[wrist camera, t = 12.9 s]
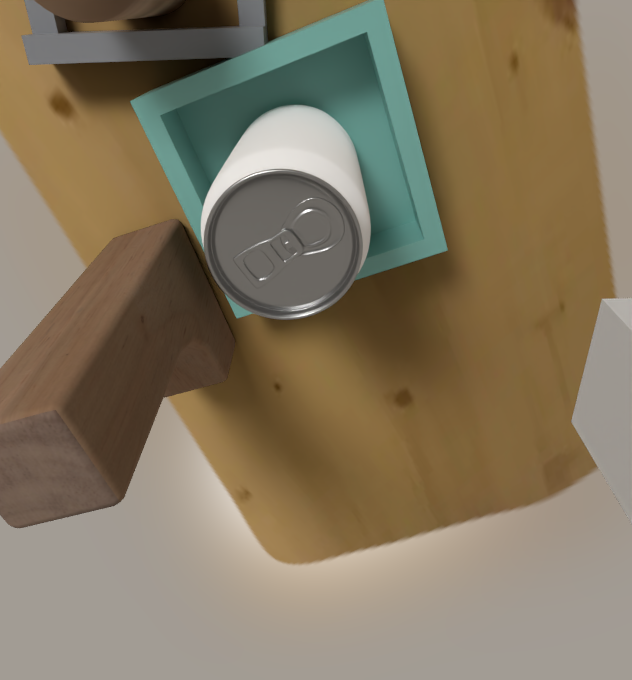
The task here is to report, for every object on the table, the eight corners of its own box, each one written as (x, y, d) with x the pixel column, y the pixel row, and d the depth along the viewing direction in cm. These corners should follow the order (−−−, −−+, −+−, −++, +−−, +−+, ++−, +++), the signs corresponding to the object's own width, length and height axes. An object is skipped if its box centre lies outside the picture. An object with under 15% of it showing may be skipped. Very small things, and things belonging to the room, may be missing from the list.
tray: (150, 90, 29) (129, 101, 26) (374, -3, 27) (382, -3, 24) (244, 288, 35) (236, 318, 32) (434, 225, 33) (447, 250, 30)
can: (380, 182, 31) (409, 271, 20) (284, 247, 33) (266, 358, 22) (311, 74, 28) (304, 114, 18) (211, 151, 30) (152, 227, 20)
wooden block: (238, 342, 37) (180, 588, 22) (175, 360, 38) (75, 610, 22) (180, 214, 33) (55, 407, 17) (109, 237, 33) (-71, 442, 18)
